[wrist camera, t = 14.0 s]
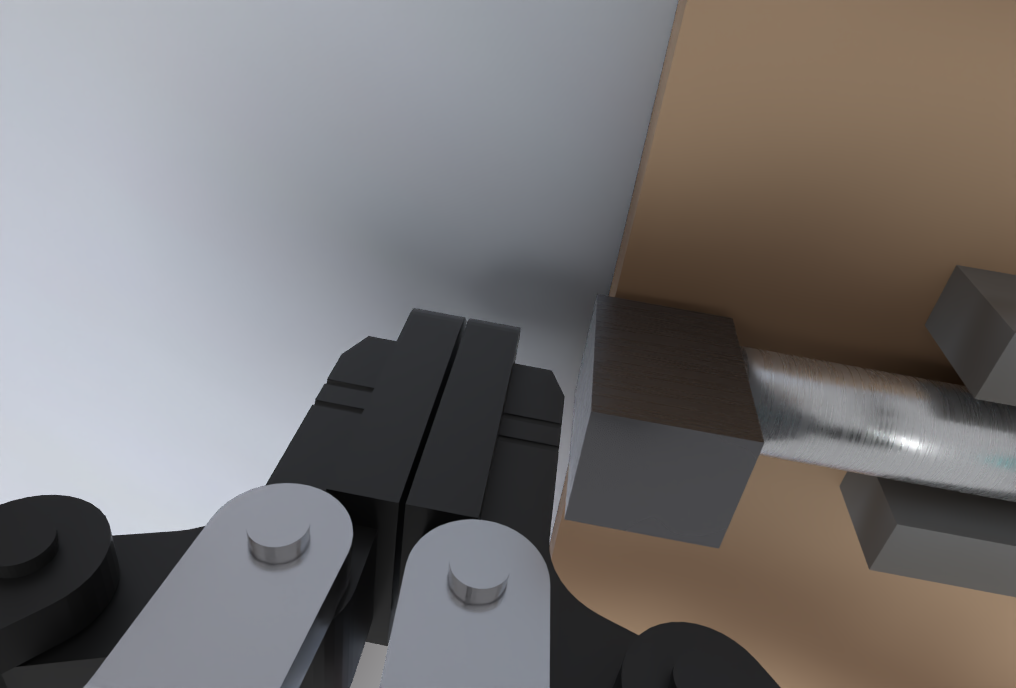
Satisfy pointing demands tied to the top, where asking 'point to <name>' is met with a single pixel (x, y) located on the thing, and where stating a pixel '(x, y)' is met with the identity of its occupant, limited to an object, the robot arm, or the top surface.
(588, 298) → the top surface
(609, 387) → the lock pin
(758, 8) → the dock
